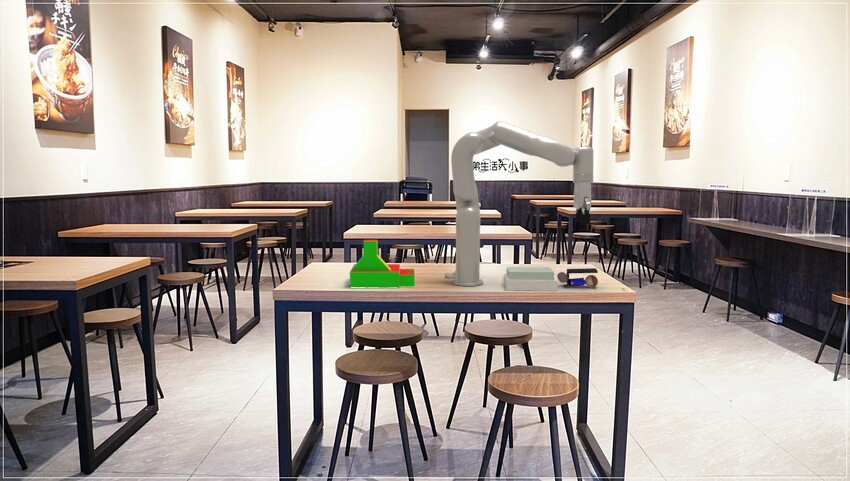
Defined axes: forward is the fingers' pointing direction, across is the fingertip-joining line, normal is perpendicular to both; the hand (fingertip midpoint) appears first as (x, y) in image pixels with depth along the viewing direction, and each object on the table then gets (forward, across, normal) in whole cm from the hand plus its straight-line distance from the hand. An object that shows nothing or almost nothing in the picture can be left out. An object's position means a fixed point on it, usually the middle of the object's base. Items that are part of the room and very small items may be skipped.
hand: (582, 223), depth 227 cm
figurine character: (+25, +2, -2) cm, 25 cm away
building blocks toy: (+23, -2, -79) cm, 83 cm away
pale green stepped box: (+24, +3, -21) cm, 33 cm away
